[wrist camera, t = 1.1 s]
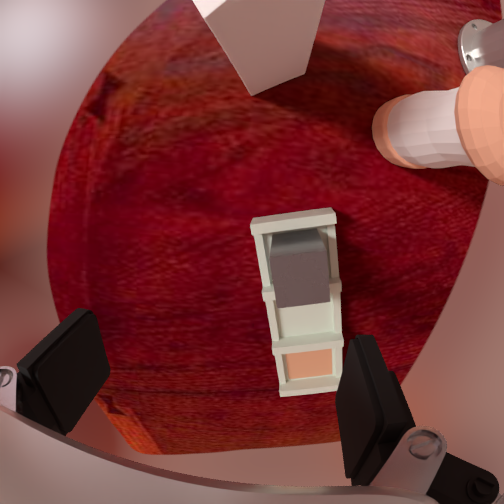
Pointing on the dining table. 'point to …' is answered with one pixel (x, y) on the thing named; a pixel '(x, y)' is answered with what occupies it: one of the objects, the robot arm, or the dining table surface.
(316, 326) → the white compartment tray
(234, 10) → the milk
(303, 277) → the tall gray pillar
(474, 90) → the pepper shaker
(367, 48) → the dining table surface
